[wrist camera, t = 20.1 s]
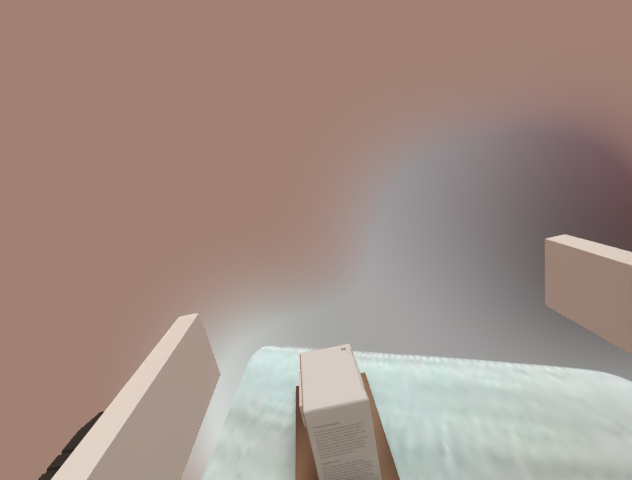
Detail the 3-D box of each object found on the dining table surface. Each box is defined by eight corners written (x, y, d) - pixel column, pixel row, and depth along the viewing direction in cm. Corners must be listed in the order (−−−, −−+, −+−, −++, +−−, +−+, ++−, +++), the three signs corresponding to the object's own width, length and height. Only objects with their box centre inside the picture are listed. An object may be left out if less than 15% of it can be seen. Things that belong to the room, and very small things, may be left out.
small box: (316, 430, 34) (298, 351, 31) (364, 420, 34) (350, 341, 32) (323, 508, 26) (300, 412, 24) (385, 494, 26) (369, 397, 24)
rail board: (365, 378, 43) (361, 352, 42) (447, 632, 19) (442, 589, 18) (297, 392, 43) (291, 366, 41) (297, 664, 19) (283, 623, 18)
